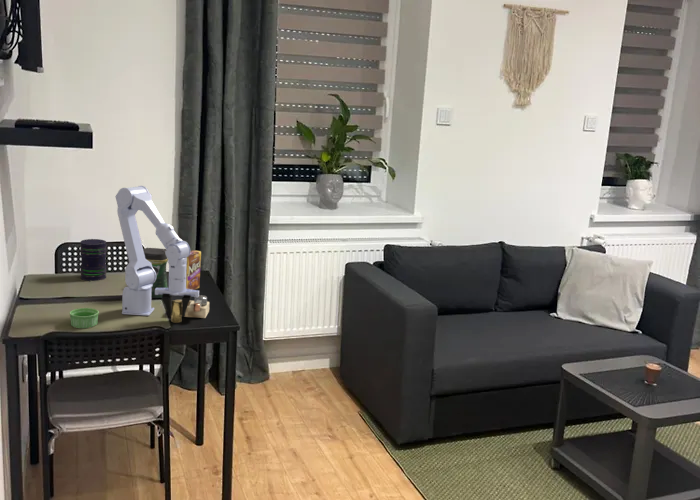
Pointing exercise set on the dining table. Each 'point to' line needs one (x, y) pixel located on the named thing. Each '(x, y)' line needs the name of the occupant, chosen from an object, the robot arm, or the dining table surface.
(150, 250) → the coffee jar
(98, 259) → the storage jar
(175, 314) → the brass pin
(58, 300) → the dining table surface
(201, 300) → the copper tipped joystick
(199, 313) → the birch block
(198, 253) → the candy box
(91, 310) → the ramekin
